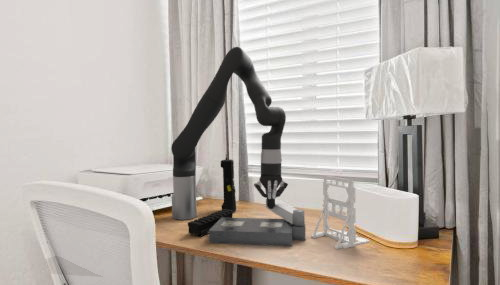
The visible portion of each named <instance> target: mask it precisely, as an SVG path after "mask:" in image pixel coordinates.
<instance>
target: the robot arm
mask: <svg viewBox="0 0 500 285" xmlns="http://www.w3.org/2000/svg"><path fill="white" fill-rule="evenodd" d="M233 74H235V75H236V76H237V77H238V78H239V79H240V80H241V81H242V82H243V84H244V85H245V89H246V93H247V96H248V98H249V99H250V101H251V103H252V104H253V107H254V111H255V117H256V120H257V122H258V123H259V124H260V125H261V126H262V127H263V126H264V127H270V130H269V131H268V132H264V133H263V134H262V136H261V152H260V176H259V180H258V181H257V182H255V183H254V184H253V187H254V188H255V189H256V190H257V191H258V193H259V194H260V195H261V197H263V198H266V199H267V207H268V208H269V209H273V208H274V207H275V198H276V199H277V198H279V197H281V195H282V194H283V192H284V191H285V190H286V189H287V187H288V185H289V184H288V183H287V182H285V181H284V180H283V177H282V161H283V160H282V136H283V132H284V128H285V124H286V121H287V120H286V119H287V118H286V112H285V110H284V109H283V108H282V107H280V106H271V104H272V97H271V95H270V93H269V92H268V90H267V89H266V87H265V86H264V84H263V83H262V81H261V80H260V78H259V77H258V73H257V71H256V69H255V66H254V63H253V61H252V59H251V57H250V56H249V54H247V53H246V51H245V50H244V49H242V47H240V46H235V47H234V46H233V47H232V48H230V50H228V52H227V53H226V55H225V56H224V58H223V60H221V63H220V66H219V68H218V70H217V71H216V74H215V76H214V77H213V79H212V80H211V82H210V84H209V86H208V87H207V89H206V90H205V92H204V93H203V95H202V96H201V98H200V100H199V101H198V102H197V103H196V104H197V105H196V107H194V108H195V109H194V110H193V111H192V114H191V116H190V118H189V120H188V122H187V124H186V125H185V127H184V128H183V130H182V131H181V132H180V134H178V136H177V137H176V138H175V139H174V141H173V142H172V144H171V148H170V149H171V154H172V157H173V161H172V162H173V164H172V165H173V167H172V186H173V191H172V192H173V194H172V195H171V216H172V219H175V220H180V221H181V220H182V221H184V220H192V219H196V218H197V217H198V216H197V215H198V214H197V213H198V211H197V175H196V171H197V160H196V158H197V157H196V155H197V154H196V149H197V146H198V144H199V142H200V140H201V138H202V136H203V134H204V133H205V131H206V130H207V129H208V128H210V126H211V124H212V123H213V122H214V121H215V120H216V118H217V116H218V115H219V114H220V112H221V111H222V109H223V107H224V106H225V103H226V99H227V91H228V86H229V82H230V80H231V78H232V75H233ZM262 186H263V188H264V190H265V191H264V190H263V189H262ZM269 209H268V210H269Z"/></svg>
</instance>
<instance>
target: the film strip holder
mask: <svg viewBox="0 0 500 285" xmlns="http://www.w3.org/2000/svg"><path fill="white" fill-rule="evenodd" d="M328 180H330V182H328ZM333 181H335V183H333ZM339 182H341V183H342V184H341V185H340V184H339ZM345 183H347V185H345ZM354 184H355V183H354V179H348V178H342V177H336V176H330V175H326V174H324V175H323V181H322V192H323V193H322V194H323V203H322V210H321V213H320V216H319V218H318V221H317V224H316V226H315V228H314V232H313V234H311V235H310V238H311V239H317V238H321V237H324V236H326V237H329V238H331V239H334V240H335V241H338V242H337V244H335V245H334V249H335V250H339V249H344V250H346V249H349V248H355V246H359V245H365V244H368V243H370V239H367V238H365V237H362V236H361V237H360V236H359V235H358V234H357V232H356V230H357V229H356V227H355V223H356V222H357V221H356V218H357V216H356V207H355V203H356V187H354V186H355V185H354ZM329 186H333V187H338V188H342V189H345V190H346V193H347V196H348V197H347V199H346V201H344V200H341V199H336V198H331V197H330V196H329V192H328V189H329ZM329 204H331V209H329ZM336 205H337V206H338V207H339V208H338V209H339V210H338V212H337V211H336ZM344 208H346V214H344V211H343V210H344ZM323 214H324V215H323ZM323 216H324V217H323ZM330 216H331V217H334V218H336V219H339V220H342V221H345V222H344V225H343V227H342V229H339V230H337V229H333V228H331V227H330V225H329V222H328V220H329V217H330ZM322 217H323V231H318V230H319V226H320V223H321V221H322ZM346 227H348V229H347V231H346Z"/></svg>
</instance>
